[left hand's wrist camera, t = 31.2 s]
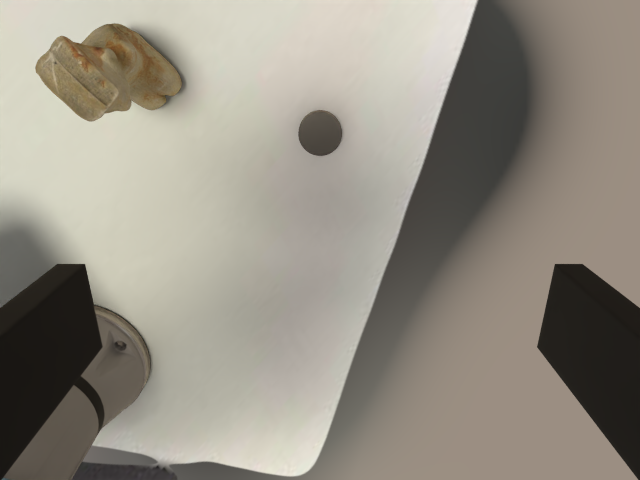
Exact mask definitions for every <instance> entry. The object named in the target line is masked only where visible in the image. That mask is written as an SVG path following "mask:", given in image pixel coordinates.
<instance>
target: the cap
mask: <svg viewBox="0 0 640 480" xmlns="http://www.w3.org/2000/svg"><path fill="white" fill-rule="evenodd" d="M341 137H342V131H341V126H340V124H339V121H338V120H337V118H336V117H335V116H334V115H333V114H331V113H329V112H327V111H323V110H318V111H313V112H311V113H309V114H308V115H307V116H305V118H304V119H303V120H302V122H301V124H300V128H299V140H300V143H301V145H302V146H303V148H304V149H305V150H306V151H308V152H309V153H311V154H313V155H318V156H323V155H327V154H330V153H331V152H333V151H334V150H335V149H336V148H337V147H338V145H339V143H340V141H341Z"/></svg>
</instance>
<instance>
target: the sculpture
mask: <svg viewBox="0 0 640 480" xmlns="http://www.w3.org/2000/svg"><path fill="white" fill-rule="evenodd" d="M36 73H37V74H38V75H39V76H40V78H41V79H42V81H43V82H44V84H45V85H46V86H47V87H48V88H49V89H50V90H51V91H52V92H53V93H54V94H55V95H56V96H57V97H59V98H60V99H61V100H62V101H63V102H64V103H65V104H67V105H68V106H69V107H70V108H71V109H72V110H73V111H74V112H75V113H76V114H77V115H78V116H80V117H81V118H83V119H85V120H87V121H95V120H97V119H99V118H101V117H102V116H103V115H104V113H110V112H113V111H127V110H129V109H130V107H131V100H132V101H133V102H135V103H137V104H138V105H140V106H142V107H143V108H146V109H149V110H155V109H158V108H159V107H161V106H163V104H164V103H165V102H166V98H165V95H169V96H174V95H175V94H177V93H178V92H179V90H180V88H181V85H182V82H181V78H180V76H179V74H178V72H177V71H176V69H175V68H174V67H173V66H172V65H171V64H170V63H169V62H168V61H167V60H166V59H165V58H164V57H163V56H162V55H161V54H160V53H159V52H158V51H156V50H155V49H154V48H153V47H152V46H150V45H149V44H148V43H147V42H146V41H145V40H144V39H143V38H142V37H141V36H140V35H139V34H138V33H136V32H134V31H132V30H130V29H129V28H127V27H125V26H123V25H121V24H106V25H104V26H101V27H99V28H97V29H96V30H94V31H93V32H92V33H91V34H90V35H89V36H88V37H87V38H86V39H85V40H84V41H83V42H82V43H81V44H80V43H75V42H72V41H71V40H70V39H68V38H67V37H64V36H60V37H58V38H57V39H56V40H55V41H54V42H53V44H52V45H51V48H50V49H49V50H48V51H47V53H46V54H44V55H43V56H42V57H41V58H40V59H39V60H38V62H37V64H36Z"/></svg>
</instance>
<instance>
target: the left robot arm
mask: <svg viewBox="0 0 640 480" xmlns="http://www.w3.org/2000/svg"><path fill="white" fill-rule="evenodd" d="M537 347H538V349H539V350H540V351H541V353H542V354H543V355H544V357H545V358H546V359H547V361H548V362H549V363H550V364H551V366H552V367H553V368H554V370H555V371H556V372H557V374H558V375H559V376H560V378H561V379H562V380H563V381H564V383H565V384H566V385H567V387H568V388H569V389H570V391H571V392H572V393H573V395H574V396H575V397H576V399H577V400H578V401H579V402H580V404H581V405H582V406H583V408H584V409H585V410H586V412H587V413H588V414H589V416H590V417H591V418H592V419H593V421H594V422H595V423H596V425H597V426H598V427H599V429H600V430H601V431H602V433H603V434H604V435H605V437H606V438H607V439H608V440H609V442H610V443H611V444H612V446H613V447H614V448H615V450H616V451H617V452H618V454H619V455H620V456H621V457H622V459H623V460H624V461H625V463H626V464H627V465H628V467H629V468H630V469H631V471H632V472H633V473H634V474H635V476H636V477H637V478H638V480H640V308H639V307H638V306H636V305H635V304H634V303H632V302H631V301H630V300H629V299H627V298H626V297H625V296H623V295H622V294H621V293H619V292H618V291H617V290H615V289H614V288H613V287H612V286H610V285H609V284H608V283H606V282H605V281H604V280H602V279H601V278H600V277H599V276H597V275H596V274H595V273H593V272H592V271H591V270H589V269H588V268H587V267H586V266H584V265H583V264H555V267H554V271H553V276H552V281H551V285H550V290H549V295H548V299H547V304H546V308H545V313H544V318H543V323H542V327H541V332H540V336H539V341H538V346H537ZM149 372H150V357H149V353H148V350H147V347H146V345H145V343H144V341H143V339H142V338H141V336H140V335H139V334H138V332H137V331H136V330H135V329H134V328H133V327H132V326H131V325H130V324H129V323H128V322H127V321H125V320H124V319H122V318H121V317H119V316H118V315H116V314H114V313H112V312H110V311H108V310H106V309H104V308H101V307H97V306H94V304H93V299H92V294H91V290H90V285H89V281H88V276H87V271H86V267H85V264H57V265H56V266H54V267H53V268H52V269H51V270H49V271H48V272H47V273H45V274H44V275H43V276H41V277H40V278H39V279H38V280H36V281H35V282H34V283H32V284H31V285H30V286H28V287H27V288H26V289H25V290H23V291H22V292H21V293H19V294H18V295H17V296H15V297H14V298H13V299H11V300H10V301H9V302H8V303H6V304H5V305H4V306H2V307H1V308H0V480H71V479H72V478H73V476H74V474H75V472H76V471H77V469H78V467H79V466H80V464H81V462H82V461H83V459H84V457H85V455H86V454H87V452H88V450H89V449H90V447H91V445H92V444H93V442H94V440H95V438H96V436H97V435H98V433H99V431H100V430H101V428H103V427H104V426H105V425H106V424H107V423H109V422H110V421H111V420H112V419H113V418H115V417H116V416H117V415H118V414H119V413H121V412H122V411H123V410H124V409H126V408H127V407H128V406H129V405H131V404H132V403H133V402H134V401H135V400H136V399H137V397H138V396H139V394H140V393H141V391H142V389H143V387H144V385H145V384H146V381H147V379H148V376H149Z"/></svg>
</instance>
